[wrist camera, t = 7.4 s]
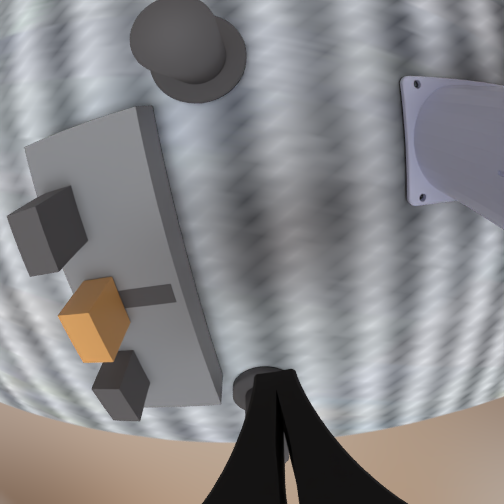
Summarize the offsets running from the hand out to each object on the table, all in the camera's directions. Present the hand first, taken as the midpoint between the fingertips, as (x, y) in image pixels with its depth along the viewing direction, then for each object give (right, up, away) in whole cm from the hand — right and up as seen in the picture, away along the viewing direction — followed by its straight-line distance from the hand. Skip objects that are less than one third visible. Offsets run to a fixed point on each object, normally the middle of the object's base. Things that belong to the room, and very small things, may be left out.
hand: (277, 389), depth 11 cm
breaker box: (-8, +3, +10) cm, 13 cm away
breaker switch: (-9, +2, +7) cm, 12 cm away
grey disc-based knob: (-4, +15, +4) cm, 16 cm away
